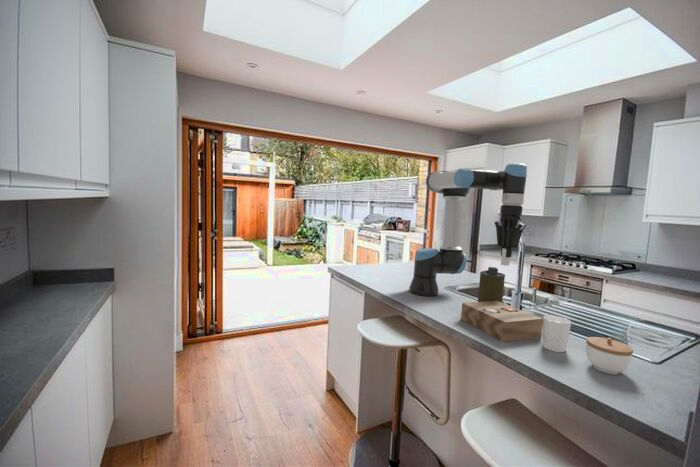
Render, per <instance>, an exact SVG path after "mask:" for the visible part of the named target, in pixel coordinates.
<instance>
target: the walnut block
mask: <svg viewBox="0 0 700 467" xmlns="http://www.w3.org/2000/svg"><path fill="white" fill-rule="evenodd" d="M504 308H512V309H515V312H508V311H506V310H504ZM486 309H493V310H496V311H497V313H493V314H491V313H489V312H486ZM460 320H461V321H462V322H464V323H466V324H468V325H470V326H471V327H474V328H476V329H477V330H480V331H482V332H483V333H486V334H488V335H489V336H492V337H493V338H495V339H497V340H498V341H500V342H502V343H504V342H505V343H506V342H512V341H514V342H515V341H522V340H529V339H531V340H532V339H540V338H539V337H541V338H542V336H543V317H540V316H538V315H535V314H532V313H530V312H527V311H524V310H522V309H519V308H516V307H514V306H512V305H508V304H506V303H503V302H502V303H501V302H499V301H486V302H478V301H474V302H470V301H469V302H462V304H461V314H460Z"/></svg>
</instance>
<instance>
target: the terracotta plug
mask: <svg viewBox="0 0 700 467" xmlns="http://www.w3.org/2000/svg"><path fill="white" fill-rule="evenodd" d="M504 310H506V311H508V312H515V309H512V308H504Z"/></svg>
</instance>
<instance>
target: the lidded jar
mask: <svg viewBox="0 0 700 467" xmlns="http://www.w3.org/2000/svg"><path fill="white" fill-rule="evenodd" d="M585 341H586V345H585V346H586V347H585V351H586V356H587V359H588V361H589V362H590V363H591V365H592V366H593V367H592V368H594V369H595V370H596V371H597V370H598V371H600V372H602V373H605V374H608V375H619V374H620V373H623V372H624V371H626V370H627V369H628V368H629V366H630V364H631V361H632V357H633V353H634V349H633V348H632V347H631V346H629V345H628V344H626V343H624V342H620V341H618V340H614V339H612V338H610V337H607V338H606V337H601V336H588V337H587V338H586V340H585Z"/></svg>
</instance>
